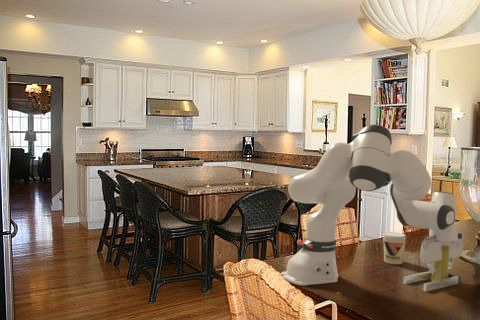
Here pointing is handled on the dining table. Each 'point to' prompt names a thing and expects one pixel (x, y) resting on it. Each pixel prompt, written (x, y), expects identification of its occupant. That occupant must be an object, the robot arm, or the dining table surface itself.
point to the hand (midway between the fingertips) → (440, 271)
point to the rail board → (433, 285)
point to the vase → (442, 265)
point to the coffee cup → (394, 247)
